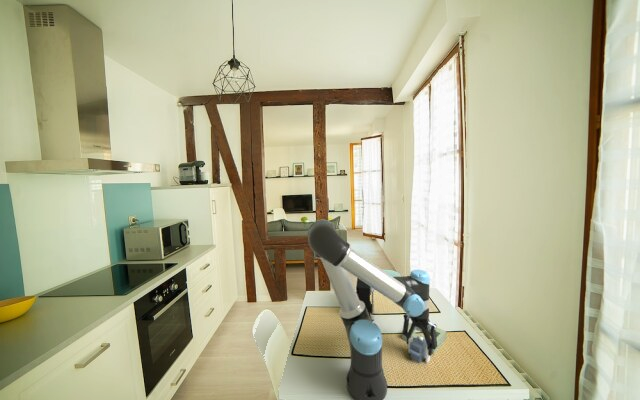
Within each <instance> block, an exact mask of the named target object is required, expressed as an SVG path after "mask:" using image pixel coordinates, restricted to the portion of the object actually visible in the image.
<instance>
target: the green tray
mask: <svg viewBox="0 0 640 400" xmlns="http://www.w3.org/2000/svg"><path fill="white" fill-rule="evenodd" d="M411 324H412V323H409V325H408V331H409V329H410V327H411ZM427 327H428V332H429V333H430V330H431V329H430V326H429V325H428V326H427ZM415 331H418V332H421V333H423V332H422V330H421V329H420V328H419V327H415V329H414V331H413V333H412V335H411V337H413V341H414V340H415V339H416V338H417V337H418V336H419V337H423V339H425V337H424V336H422V335H420V334H418V333H415ZM401 335H402V336H401V337H402V340H404V341H406V342H407V337H406V336H405V335H403V331H402V334H401ZM436 338H437V347H436V349H435V350H434V349H432V355H434V354H435V353H436V352H437V351H438V349H440V347H441V346H442V344H443V343H444V342H445V341H446V340H447V331H446V330H444V329H441V328H438V326H437V327H436Z"/></svg>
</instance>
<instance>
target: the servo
mask: <svg viewBox="0 0 640 400" xmlns="http://www.w3.org/2000/svg"><path fill="white" fill-rule="evenodd" d="M423 337H424V336H422V337H419V336H418V337H417V338H416V339H415V340H414V341H413V342H412V343H411V349H410V350H409V352H410V359H411V360H413V361H415V362H416V363H418V364H421V362H423V360H424V359H426V347H427V343H426V340H425V339H423Z"/></svg>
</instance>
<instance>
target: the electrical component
mask: <svg viewBox="0 0 640 400" xmlns="http://www.w3.org/2000/svg"><path fill="white" fill-rule="evenodd" d="M356 279H357V280H356V287H355V290H356V293H357V295H358V298H359V300H360V301H362V302H364V304H365V306H366V309H367V311H368V313H369V316H370V319H371V321H372V322H373V321H375V316H373V315H374V308H375V307H374V305H375V304H374V292H375V289H374V288H372V287H371V286H369V285H368V284H366V283H365V282H363V281H362V280H360V279H359V278H357V277H356Z"/></svg>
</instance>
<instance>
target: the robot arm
mask: <svg viewBox="0 0 640 400" xmlns="http://www.w3.org/2000/svg"><path fill="white" fill-rule="evenodd" d="M307 237H308V239H307V240H308V245H309V248H310V249H311V250H312V251H313V253H314V255H315V258H317V259H320V260H321V262H322V264H323V267H324V269H325V272H326V275H327V276H328V280H329V282H330V284H331V287H332V289H333V292H334V295H335V296H336V299H337V301H338V304H339V306H340V307H339V308H340V309H339V311H338V312H339V317H340V318H341V321H342V324H343V325H344V329H345V332H346V336H347V340H348V343H349V347H350V348H349V350H350V351H349V352H350V367H349V370H348V371H347V375H346V390H347V392H348V393H349V396H351V398H352V399H353V400H384V399H385V398H386V396H387V393H388V384H387V383H388V382H387V379H386V377H385V374H384V372H383V371H384V370H383V336H382V331H381V328H380V327H379V326H378V324H376V323H375V322H373V321H372V320H371V319H370V316H369V313H368V311H367V309H366V306H365V304H364V302H362V301H360V300H359V298H358V295H357V293H356V287H355V286H354V283H353V281H352V278H351V275H352V276H354V277H355V278H356V279H357V278H359V279H360V280H362V281H363V282H365V283H366V284H368V285H369V286H371V287H372V288H373V289H374V291H376V292H378V293H379V294H381V295H382V296H384V297H385V298H387V299H388V300H390V301H392V302H393V303H395V305H397V306H398V307H400V308H402V309H403V311H404V313H405V314H403V328H402V332H403V335H405V336H406V337H407V341H406V345H407V346H408V347H407V348H408V352H407V353H408V354H409V355H411V353H410V352H409V350H410V349H411V343H412V342H413V337H411V335H412V333H413V331H414V329H415V327H419V328H420V329H421V330H422V332H421V333H422V334H423V337H425V340H426V343H427V347H426V356H425V363H426V364H428V363H429V362H430V360H431V356H432V355H433V354H432V349H434V350H435V349H436V347H437V338H436V327H437V328H438V326H437V324H436V323H432V322H431V321H430V285H431V283H430V274H429V272H427V271H425V270H423V269H413V270H411V271H410V274H409V275H407V276H392V275H391V274H389V273H388V272H386V271H384V270H383V269H382V268H380V267H379V266H377V265H376V264H374V263H373V262H371V261H370V260H369V259H367V258H366V257H365V256H362V254H360V253H359V252H357V251H355V250H354V249H352V247H351V244H350V243H349V242H347V240H345V239H344V238H343V237H341V235H340V234H339V233H338V232H337V230H336V227H335V225H334V224H333V223H332V222H331V221H329V220H327V219H318V220H315V221H313V222H312V223H311V224H310V226H309V227H308V230H307ZM350 274H351V275H350ZM410 321H411V323H410ZM410 324H411V327H410V329H409V331H408V326H409V325H410ZM428 325H429V326H430V329H431V330H430V332H428V327H427V326H428ZM414 332H415V331H414Z"/></svg>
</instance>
